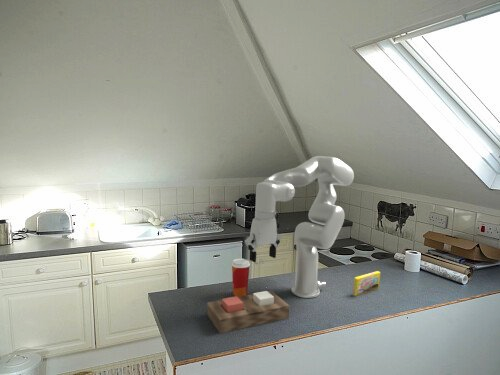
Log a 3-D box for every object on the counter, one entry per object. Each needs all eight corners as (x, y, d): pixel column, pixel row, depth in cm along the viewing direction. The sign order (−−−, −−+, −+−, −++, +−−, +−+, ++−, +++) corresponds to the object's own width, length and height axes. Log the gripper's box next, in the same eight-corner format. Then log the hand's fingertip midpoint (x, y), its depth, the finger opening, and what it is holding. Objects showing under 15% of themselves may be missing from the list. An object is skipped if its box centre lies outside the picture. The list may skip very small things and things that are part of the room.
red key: (236, 303, 139) (236, 296, 139) (242, 310, 134) (243, 302, 134) (221, 306, 137) (222, 298, 136) (227, 313, 132) (227, 305, 131)
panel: (271, 302, 151) (271, 291, 150) (288, 317, 139) (289, 305, 138) (207, 315, 139) (207, 302, 138) (219, 333, 127) (220, 319, 126)
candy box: (356, 296, 159) (357, 278, 157) (352, 295, 160) (353, 277, 159) (379, 289, 168) (380, 271, 166) (375, 287, 169) (377, 270, 168)
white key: (266, 297, 145) (266, 290, 145) (273, 304, 140) (274, 296, 139) (252, 300, 142) (253, 293, 142) (259, 307, 137) (260, 299, 137)
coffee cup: (239, 288, 164) (239, 256, 162) (253, 294, 159) (254, 261, 156) (226, 294, 157) (227, 261, 155) (240, 300, 152) (241, 266, 150)
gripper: (275, 211, 145) (273, 253, 147) (240, 215, 135) (238, 259, 137) (288, 215, 139) (286, 258, 141) (252, 219, 129) (250, 265, 131)
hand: (262, 259), depth 139 cm, fingers open, 9 cm apart
